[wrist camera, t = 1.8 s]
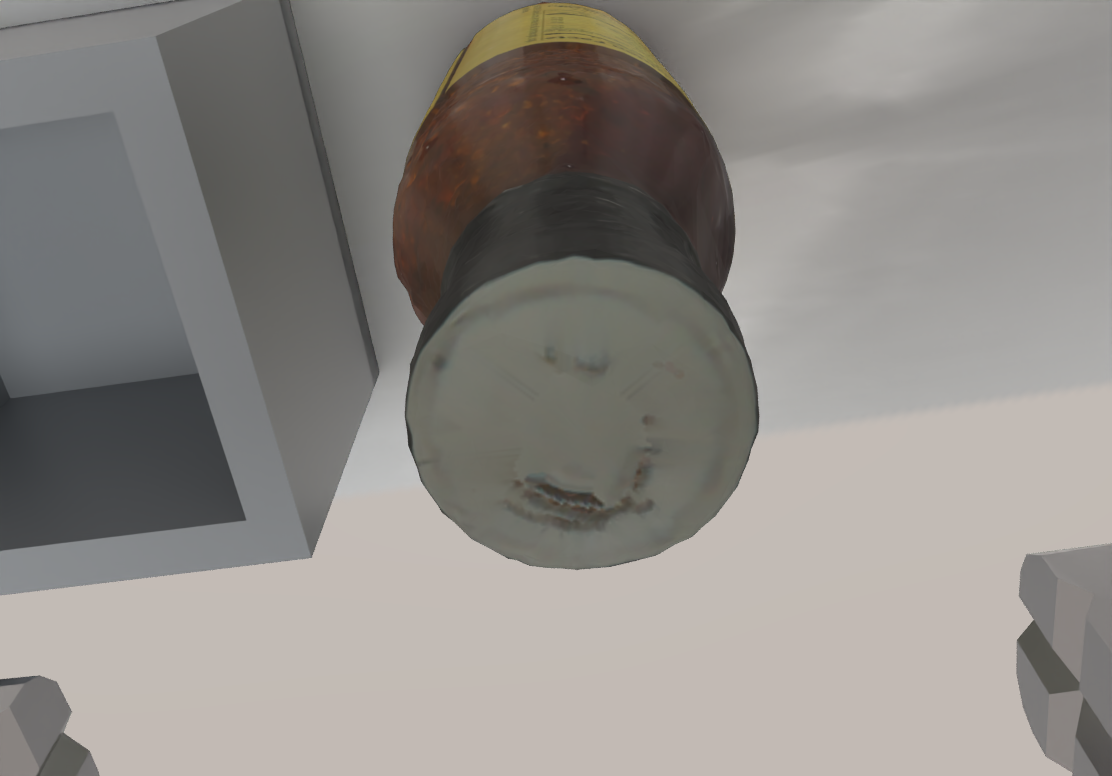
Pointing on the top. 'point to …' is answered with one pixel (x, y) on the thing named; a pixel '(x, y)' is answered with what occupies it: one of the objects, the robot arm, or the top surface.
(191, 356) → the bin
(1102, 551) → the robot arm
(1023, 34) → the top surface
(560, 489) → the sauce bottle
